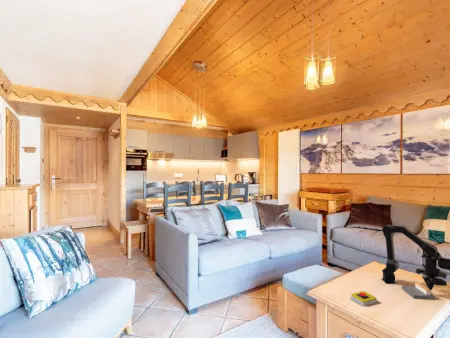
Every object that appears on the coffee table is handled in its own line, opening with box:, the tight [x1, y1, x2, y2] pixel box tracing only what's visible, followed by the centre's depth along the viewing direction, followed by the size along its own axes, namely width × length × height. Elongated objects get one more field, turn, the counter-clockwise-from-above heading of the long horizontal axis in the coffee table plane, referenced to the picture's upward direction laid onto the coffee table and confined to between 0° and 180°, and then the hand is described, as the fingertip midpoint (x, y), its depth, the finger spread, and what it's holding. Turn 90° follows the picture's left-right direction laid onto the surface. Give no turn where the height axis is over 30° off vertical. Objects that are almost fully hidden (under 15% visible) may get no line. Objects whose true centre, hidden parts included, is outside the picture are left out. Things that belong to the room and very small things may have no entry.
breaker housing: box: [401, 285, 436, 301], centre depth 158 cm, size 12×12×2 cm
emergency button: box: [349, 290, 380, 307], centre depth 150 cm, size 9×4×15 cm
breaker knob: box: [414, 282, 432, 295], centre depth 158 cm, size 2×10×3 cm, turn 175°
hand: (430, 290), depth 157 cm, fingers closed
